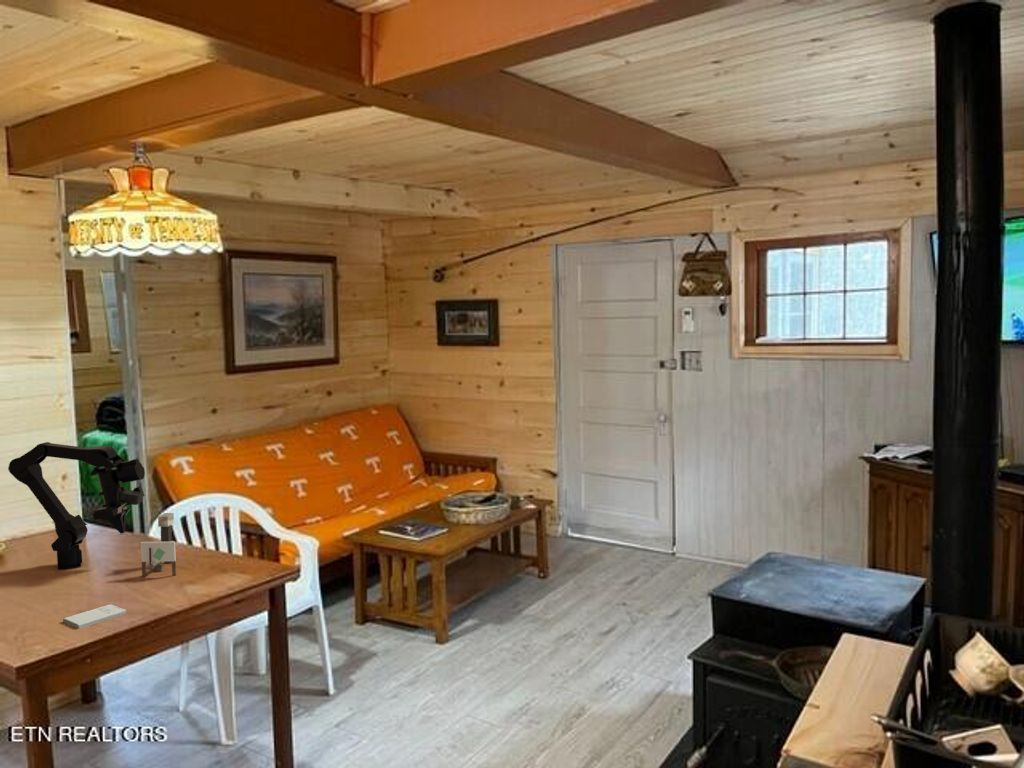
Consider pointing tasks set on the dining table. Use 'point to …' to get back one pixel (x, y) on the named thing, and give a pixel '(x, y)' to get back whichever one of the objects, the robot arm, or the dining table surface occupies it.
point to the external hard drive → (94, 616)
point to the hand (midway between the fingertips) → (122, 533)
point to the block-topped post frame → (163, 533)
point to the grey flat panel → (158, 551)
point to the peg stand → (160, 567)
